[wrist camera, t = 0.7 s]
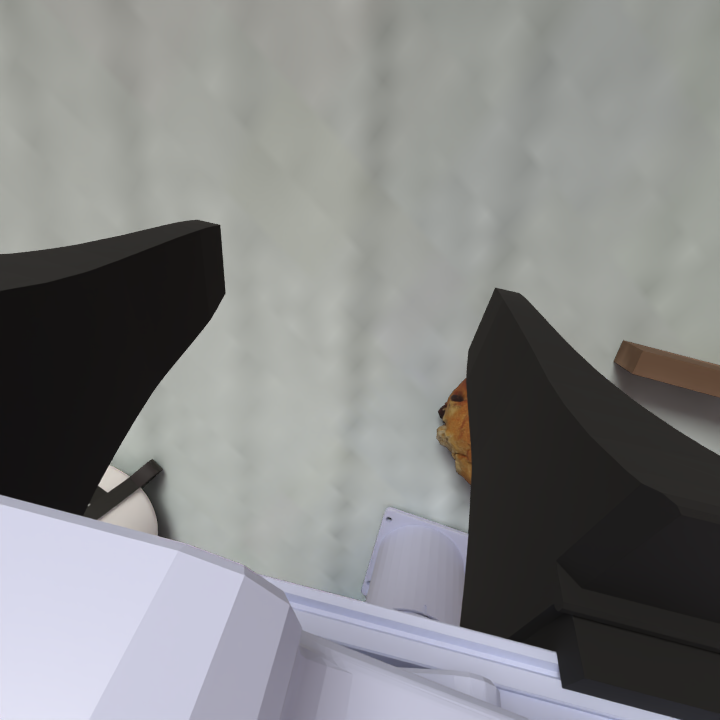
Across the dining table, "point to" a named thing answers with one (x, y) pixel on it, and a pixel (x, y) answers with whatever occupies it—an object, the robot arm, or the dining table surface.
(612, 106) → the dining table surface
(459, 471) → the bread roll
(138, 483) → the coffee press
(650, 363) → the roll holder
